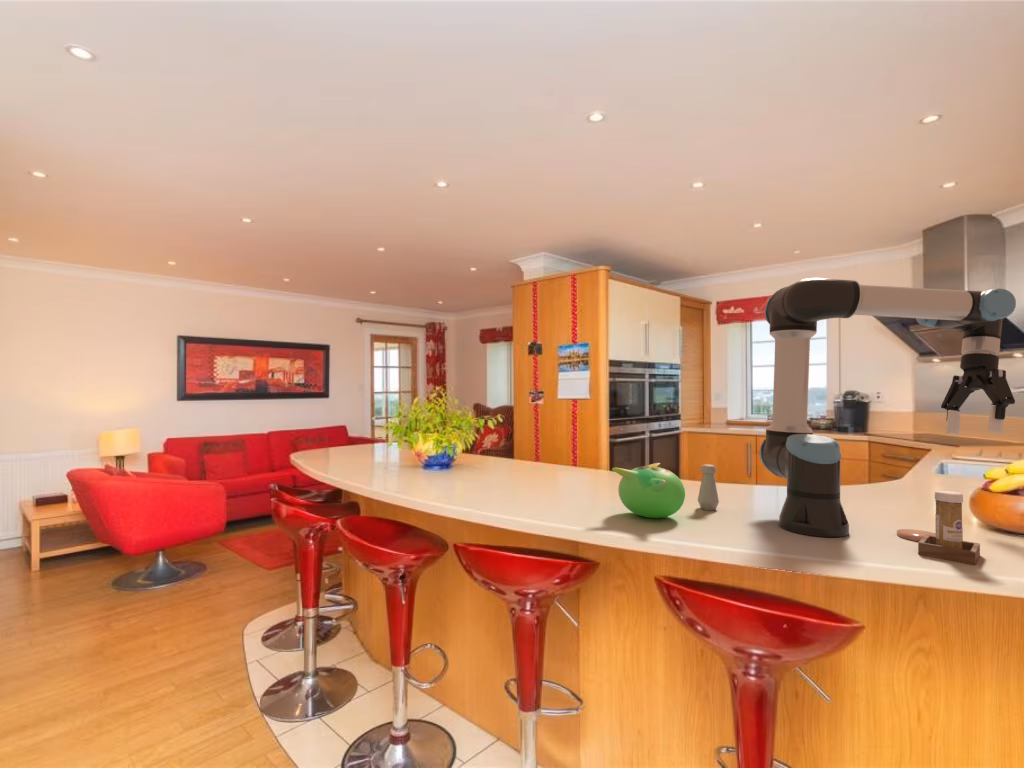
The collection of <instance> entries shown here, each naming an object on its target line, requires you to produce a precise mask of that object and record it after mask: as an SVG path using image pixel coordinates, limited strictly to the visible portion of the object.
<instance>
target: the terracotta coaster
mask: <svg viewBox="0 0 1024 768" xmlns="http://www.w3.org/2000/svg"><path fill="white" fill-rule="evenodd" d="M896 535H897V536H898V537H899V536H900V538H902V539H904V538H905V540H908V539H909V541H912V540H913V542H917V543H918V542H919V541H920V540H921V539H922V538H923V537H924V536H925V535H931V536H936V532H932V531H927V530H922V529H911V528H902V529H901V528H900V529H897V530H896Z"/></svg>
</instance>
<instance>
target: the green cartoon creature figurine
mask: <svg viewBox="0 0 1024 768" xmlns="http://www.w3.org/2000/svg"><path fill="white" fill-rule="evenodd" d="M660 465H661V463H660V462H655V463H652V464H651V463H650V464H648V465H643V466H639V467H634V468H633V469H627V468H626V469H625V468H621V467H612V469H611V470H612V471H613V472H614V473H616V474H618V475H619V476H621V479H620V481H619V482H618V483H619V484H618V496H619V499H620V501H621V503H622V504H623V506H624V507H625V508H626V509H627V510H629V511H630V512H632V513H633V514H635V515H637V516H641V517H643V518H648V519H661V518H666V517H669V516H672V515H674V514H676V513H677V512H678V511H679V510H680V509H681V508H682V507H683V505H684V502H685V498H686V490H685V486H684V484H683V482H682V480H681V479H680V478H679V476H677V475H676V474H675V473H674V472H672V471H671V470H669V469H666V468H662V467H660Z"/></svg>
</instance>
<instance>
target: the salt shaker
mask: <svg viewBox="0 0 1024 768" xmlns="http://www.w3.org/2000/svg"><path fill="white" fill-rule="evenodd" d="M699 470H700V472H701V473H702V475H701V481H700V485H699V490H698V491H699V492H698V497H697V502H698V504H699V506H700V509H701V510H705V511H715V510H717V507H718V505H719V502H720V500H719V499H720V498H719V494H718V490H717V484H716V478H715V473H716V472H717V468H716V466H715V465H713V464H709V463H706V464H701V465H700V468H699Z"/></svg>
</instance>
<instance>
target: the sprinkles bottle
mask: <svg viewBox="0 0 1024 768" xmlns="http://www.w3.org/2000/svg"><path fill="white" fill-rule="evenodd" d="M934 500H935V516H934V517H935V519H934V520H935V527H934V528H935V533H936V545H940V546H946V547H951V548H957V549H962V541H964V540H963V539H964V536H963V534H964V533H963V529H964V528H963V503H964V495H963V493H961V492H958V491H952V490H935V491H934Z"/></svg>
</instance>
